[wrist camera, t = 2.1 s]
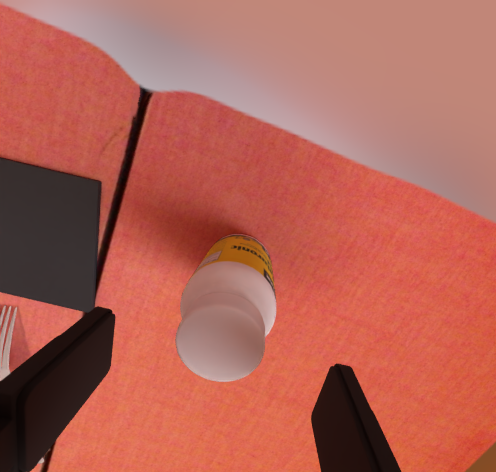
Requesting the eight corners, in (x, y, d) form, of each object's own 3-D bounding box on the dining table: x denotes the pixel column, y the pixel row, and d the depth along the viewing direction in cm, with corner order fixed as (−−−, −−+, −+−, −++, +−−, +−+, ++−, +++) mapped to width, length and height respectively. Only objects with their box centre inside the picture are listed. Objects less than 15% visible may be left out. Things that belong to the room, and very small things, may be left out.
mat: (-49, 145, 18) (-56, 145, 18) (101, 181, 18) (98, 181, 18) (-34, 281, 22) (-39, 283, 21) (94, 311, 22) (91, 313, 21)
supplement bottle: (285, 266, 20) (307, 356, 10) (236, 303, 21) (216, 414, 11) (242, 218, 19) (222, 266, 9) (193, 259, 20) (132, 339, 10)
